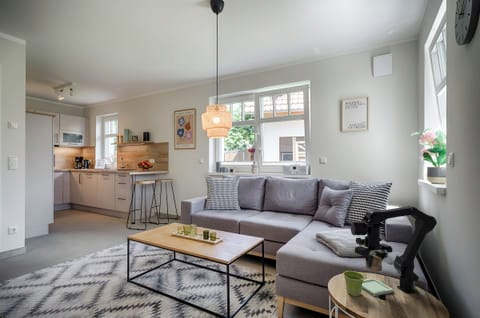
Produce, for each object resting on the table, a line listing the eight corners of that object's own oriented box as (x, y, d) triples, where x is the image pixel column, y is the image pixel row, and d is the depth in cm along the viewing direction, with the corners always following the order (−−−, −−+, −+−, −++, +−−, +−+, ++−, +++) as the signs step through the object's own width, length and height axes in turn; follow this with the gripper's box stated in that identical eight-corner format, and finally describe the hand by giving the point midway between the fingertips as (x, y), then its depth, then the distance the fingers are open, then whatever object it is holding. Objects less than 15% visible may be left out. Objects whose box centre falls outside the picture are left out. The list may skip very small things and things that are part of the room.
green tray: (373, 280, 130) (373, 278, 130) (393, 292, 118) (393, 289, 118) (354, 284, 126) (354, 281, 126) (373, 296, 115) (373, 293, 115)
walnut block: (373, 266, 125) (373, 254, 126) (381, 270, 121) (381, 258, 121) (365, 267, 124) (365, 255, 124) (373, 271, 119) (373, 259, 119)
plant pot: (367, 299, 112) (367, 280, 112) (345, 297, 114) (345, 278, 114) (361, 289, 121) (361, 271, 121) (341, 287, 123) (341, 270, 123)
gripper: (374, 229, 133) (375, 258, 133) (346, 232, 127) (346, 262, 127) (393, 235, 122) (393, 266, 122) (363, 239, 117) (363, 271, 117)
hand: (373, 266), depth 122 cm, fingers closed on walnut block, 5 cm apart
